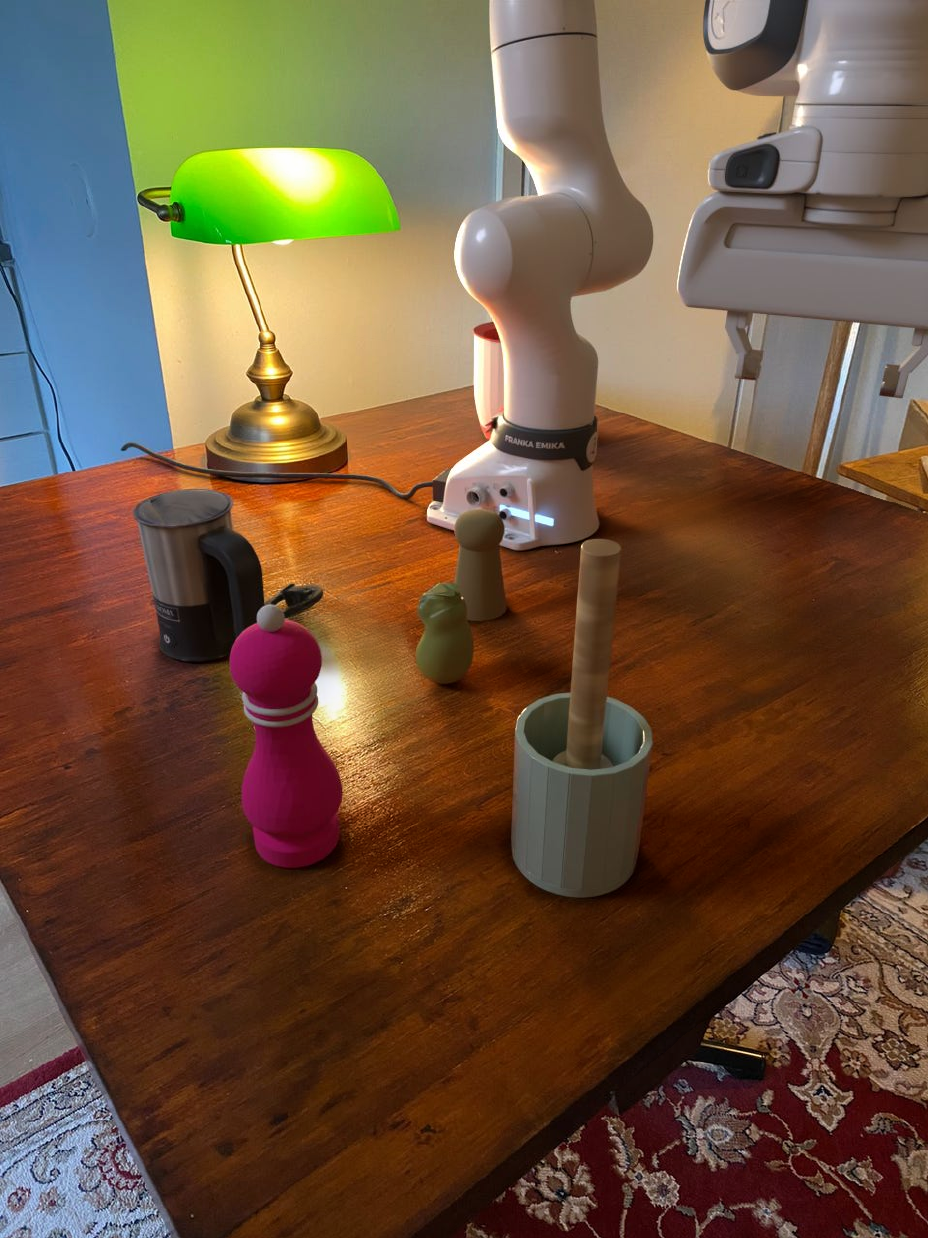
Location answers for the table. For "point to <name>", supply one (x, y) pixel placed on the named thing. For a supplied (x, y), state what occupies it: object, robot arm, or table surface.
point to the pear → (444, 635)
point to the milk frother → (205, 574)
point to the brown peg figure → (480, 564)
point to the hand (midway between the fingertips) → (816, 386)
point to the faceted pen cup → (578, 800)
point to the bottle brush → (592, 654)
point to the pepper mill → (285, 743)
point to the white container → (488, 373)
